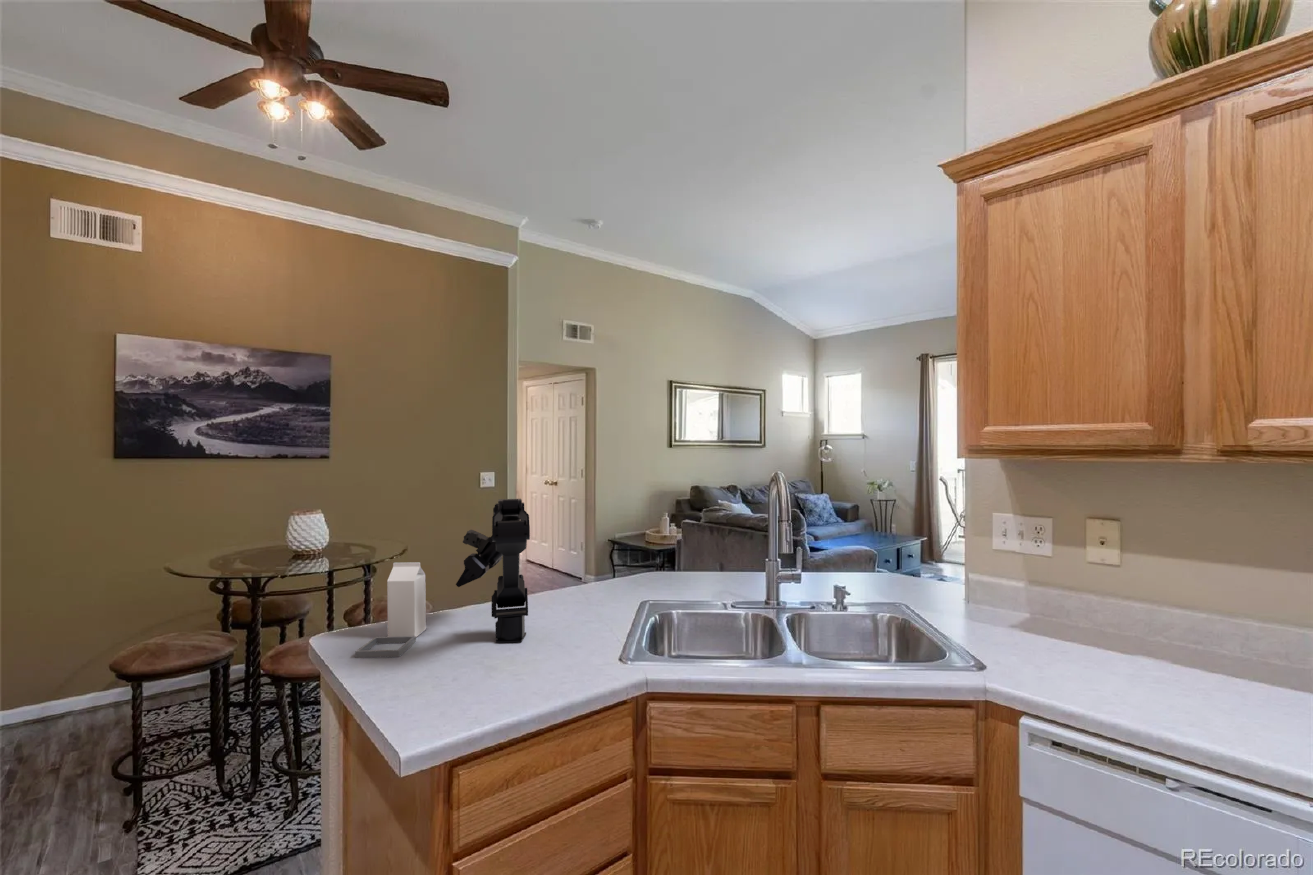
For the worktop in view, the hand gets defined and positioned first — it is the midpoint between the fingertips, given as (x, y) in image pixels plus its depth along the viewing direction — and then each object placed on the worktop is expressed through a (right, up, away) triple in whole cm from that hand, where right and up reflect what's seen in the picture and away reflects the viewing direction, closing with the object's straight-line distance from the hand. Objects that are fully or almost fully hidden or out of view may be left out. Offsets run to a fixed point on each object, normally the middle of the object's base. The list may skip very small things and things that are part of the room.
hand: (462, 581), depth 158 cm
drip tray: (-13, -13, -17) cm, 24 cm away
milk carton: (-13, -13, -5) cm, 19 cm away
